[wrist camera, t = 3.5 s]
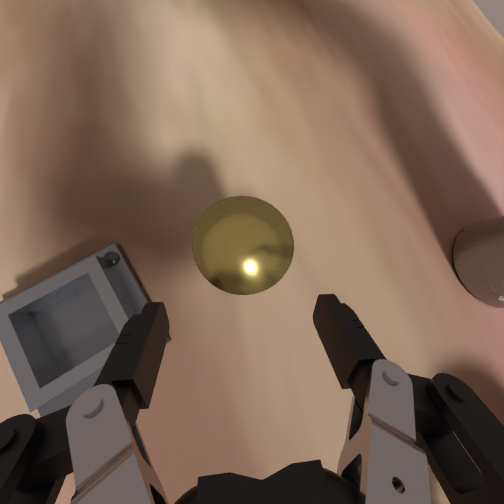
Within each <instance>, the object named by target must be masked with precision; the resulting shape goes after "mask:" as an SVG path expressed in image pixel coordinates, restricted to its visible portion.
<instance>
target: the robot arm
mask: <svg viewBox="0 0 504 504" xmlns="http://www.w3.org/2000/svg"><path fill="white" fill-rule="evenodd" d="M453 260H454V265H455V269H456V271H457V274H458V276H459V278H460V280H461V281H462V283H463V284H464V286H465V287H466V288H467V289H468V290H469V291H470V293H471V294H472V295H474V296H475V297H476V298H478V299H479V300H480V301H482V302H484V303H486V304H488V305H491V306H494V307H501V308H504V216H502V217H499V218H496V219H492V220H489V221H486V222H482V223H479V224H476V225H473V226H470V227H467V228H466V229H464V230H463V231H462V232H461V233H460V234H459V235H458V237H457V239H456V241H455V244H454V249H453ZM313 322H314V325H315V328H316V330H317V332H318V335H319V337H320V339H321V342H322V344H323V346H324V348H325V351H326V353H327V355H328V358H329V360H330V362H331V365H332V367H333V369H334V372H335V374H336V376H337V379H338V381H339V383H340V385H341V388H342V389H349V388H351V390H352V392H353V394H354V395H353V398H352V403H351V409H350V415H349V421H348V427H347V433H346V439H345V444H344V447H343V450H342V452H341V455H340V459H339V463H338V469H337V474H336V473H334V472H333V471H330V470H328V469H325V468H322V464H321V460H314V461H307V462H300V463H293V464H290V465H288V466H287V467H285V468H283V469H281V470H280V471H278V472H276V473H274V474H273V475H271V476H269V477H267V478H266V479H263V480H259V479H255V478H251V477H247V476H242V475H238V474H234V473H222V474H215V475H208V476H201V477H198V485H197V486H195V487H193V488H191V489H190V490H189V491H187V492H186V493H185V494H183V495H182V496H181V497H180V498H179V499H178V500H177V501H176V502H175V503H174V504H431V494H430V483H429V472H428V463H429V465H430V467H431V469H432V471H433V473H434V474H435V476H436V478H437V480H438V482H439V483H440V485H441V487H442V489H443V491H444V493H445V494H446V496H447V498H448V500H449V502H450V504H504V426H503V425H502V424H501V423H500V422H499V420H498V419H497V418H496V417H495V416H494V415H493V413H492V412H491V411H490V410H489V409H488V408H487V407H486V405H485V404H484V403H483V402H482V401H481V400H480V398H479V397H478V396H477V395H476V394H475V393H474V391H473V390H472V389H471V388H470V387H469V386H467V385H466V384H465V383H464V382H462V381H461V380H459V379H458V378H456V377H454V376H452V375H449V374H445V373H439V374H436V375H435V376H434V377H433V378H432V379H428V378H424V377H420V376H416V375H411V374H408V373H406V372H405V371H404V370H403V369H402V368H401V367H400V366H398V365H397V364H395V363H394V362H391V361H389V360H387V359H386V358H385V357H384V355H383V354H382V352H381V351H380V349H379V348H378V346H377V345H376V343H375V342H374V340H373V339H372V337H371V336H370V334H369V333H368V331H367V330H366V329H365V328H364V325H363V324H362V322H361V321H359V318H358V317H357V315H356V314H355V312H354V311H353V310H352V309H351V308H350V307H349V306H347V305H346V304H345V303H340V301H339V300H338V298H337V297H336V295H335V294H320V295H319V296H318V298H317V302H316V305H315V309H314V312H313ZM168 334H169V320H168V317H167V313H166V309H165V305H164V303H163V302H153V303H146V304H145V305H144V307H143V309H142V312H141V314H136V315H133V316H132V317H131V318H130V319H129V320H128V321H127V322H126V323H125V324H124V326H123V328H122V330H121V332H120V334H119V337H118V338H117V340H116V342H115V346H113V348H112V350H111V352H110V354H109V356H108V358H107V360H106V362H105V364H104V366H103V368H102V370H101V372H100V374H99V376H98V378H97V380H96V382H95V384H94V385H93V387H92V388H90V389H88V390H87V391H85V392H84V393H83V394H81V395H80V396H79V397H78V398H77V399H76V400H75V402H74V403H73V404H71V405H70V406H67V407H65V408H63V409H60V410H58V411H55V412H53V413H50V414H48V415H45V416H43V417H40V418H38V419H35V418H34V417H33V416H31V415H29V414H21V415H17V416H14V417H11V418H9V419H7V420H5V421H4V422H2V423H0V504H55V502H56V499H57V497H58V494H59V492H60V490H61V487H62V485H63V482H64V480H65V477H66V475H68V474H70V473H72V472H74V478H75V485H76V491H75V494H74V495H73V497H72V499H71V504H169V503H168V500H167V498H166V495H165V492H164V490H163V487H162V485H161V483H160V480H159V478H158V476H157V474H156V472H155V470H154V468H153V465H152V463H151V460H150V458H149V455H148V452H147V450H146V447H145V444H144V442H143V439H142V437H141V434H140V431H139V429H138V426H137V423H136V419H137V416H138V413H139V409H148V408H149V405H150V401H151V398H152V394H153V390H154V386H155V383H156V379H157V375H158V372H159V368H160V364H161V360H162V357H163V353H164V349H165V346H166V342H167V338H168ZM452 431H454V432H455V434H456V435H457V437H458V438H459V440H460V441H461V443H462V444H463V446H464V447H465V448H466V450H467V451H468V453H469V454H470V456H471V457H472V459H473V460H474V462H475V463H476V464H477V466H478V467H479V469H480V471H481V473H482V475H483V476H482V475H481V473H480V472H479V470H478V469H477V467H476V466H475V464H474V463H473V462H472V460H471V459H470V457H469V456H468V454H467V453H466V451H465V450H464V448H463V447H462V445H461V444H460V442H459V441H458V440H457V438H456V437H455V435H454V434H453V432H452ZM417 443H418V444H417Z"/></svg>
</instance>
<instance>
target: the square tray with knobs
mask: <svg viewBox="0 0 504 504" xmlns="http://www.w3.org/2000/svg"><path fill="white" fill-rule="evenodd" d="M146 303H151V302H150V300H149V299H148V297H147V295H146V293H145V291H144V289H143V287H142V286H141V284H140V282H139V280H138V278H137V276H136V275H135V273H134V271H133V269H132V267H131V265H130V264H129V262H128V260H127V258H126V256H125V254H124V253H123V251H122V249H121V247H120V245H118V244H116V243H113V244H111V245H109V246H107V247H105V248H104V249H102V250H100V251H98V252H96V253H94V254H92V255H90V256H88V257H86V258H84V259H82V260H80V261H78V262H76V263H74V264H72V265H71V266H69V267H67V268H65V269H63V270H61V271H59V272H57V273H55V274H53V275H51V276H49V277H47V278H45V279H43V280H41V281H39V282H37V283H36V284H34V285H32V286H30V287H28V288H26V289H24V290H22V291H20V292H18V293H16V294H14V295H12V296H10V297H8V298H6V299H4V300H3V301H1V302H0V341H1V344H2V346H3V348H4V351H5V353H6V356H7V358H8V360H9V363H10V365H11V367H12V370H13V372H14V375H15V377H16V379H17V382H18V384H19V386H20V389H21V391H22V394H23V396H24V398H25V401H26V403H27V405H28V408H29V410H30V412H32V411H33V410H35V409H37V408H38V411H39V413H40V415H41V417H43V416H45V415H48V414H50V413H53V412H55V411H58V410H60V409H63V408H65V407H67V406H70V405H71V404H73V403H74V402H75V400H76V399H77V398H78V397H79V396H80V395H81V394H83V393H84V392H85V391H87V390H88V389H90V388H92V387H93V385H94V384H95V382H96V380H97V378H98V376H99V374H100V372H101V370H102V368H103V366H104V364H105V362H106V360H107V358H108V356H109V354H110V352H111V350H112V348H113V346H115V342H116V340H117V338H118V337H119V334H120V332H121V330H122V328H123V326H124V324H125V323H126V322H127V321H128V320H129V319H130V318H131V317H132V316H133V315H136V314H141V312H142V309H143V307H144V305H145V304H146ZM169 341H171V339H170V337H169V335H168V338H167V342H166V343H168V342H169Z"/></svg>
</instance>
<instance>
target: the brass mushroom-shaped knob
mask: <svg viewBox="0 0 504 504" xmlns="http://www.w3.org/2000/svg"><path fill="white" fill-rule="evenodd" d="M192 251H193V256H194V259H195V262H196V265H197V267H198V269H199V270H200V272H201V273H202V275H203V276H204V277H205V278H206V279H207V280H208V281H209V282H210V283H211V284H213V285H214V286H215V287H217V288H219V289H220V290H223V291H225V292H228V293H231V294H236V295H249V294H255V293H259V292H262V291H264V290H267V289H268V288H270V287H272V286H273V285H275V284H276V283H277V282H278V281H279V280H280V279H281V278H282V277H283V276H284V275H285V273H286V272H287V270H288V268H289V266H290V264H291V261H292V257H293V252H294V240H293V235H292V231H291V229H290V226H289V224H288V222H287V221H286V219H285V218H284V216H283V215H282V214H281V213H280V212H279V211H278V210H277V209H276V208H275V207H273V206H272V205H271V204H269V203H267V202H265V201H263V200H261V199H258V198H254V197H249V196H236V197H230V198H227V199H224V200H221V201H219V202H217V203H216V204H214V205H212V206H211V207H210V208H209V209H207V210H206V212H205V213H204V214H203V215H202V216H201V218H200V219H199V221H198V223H197V224H196V227H195V230H194V233H193V238H192Z"/></svg>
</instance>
